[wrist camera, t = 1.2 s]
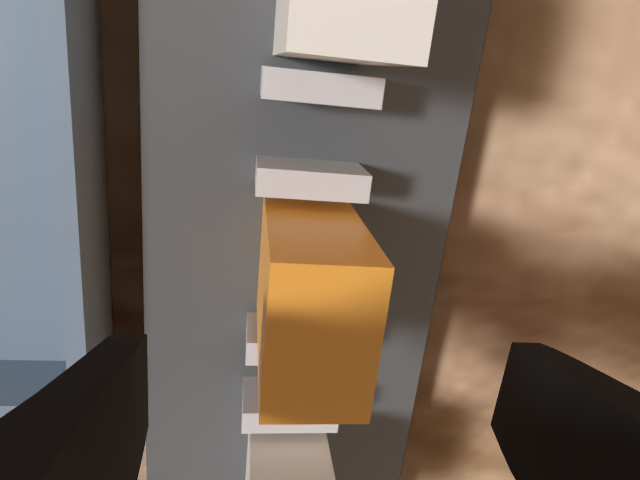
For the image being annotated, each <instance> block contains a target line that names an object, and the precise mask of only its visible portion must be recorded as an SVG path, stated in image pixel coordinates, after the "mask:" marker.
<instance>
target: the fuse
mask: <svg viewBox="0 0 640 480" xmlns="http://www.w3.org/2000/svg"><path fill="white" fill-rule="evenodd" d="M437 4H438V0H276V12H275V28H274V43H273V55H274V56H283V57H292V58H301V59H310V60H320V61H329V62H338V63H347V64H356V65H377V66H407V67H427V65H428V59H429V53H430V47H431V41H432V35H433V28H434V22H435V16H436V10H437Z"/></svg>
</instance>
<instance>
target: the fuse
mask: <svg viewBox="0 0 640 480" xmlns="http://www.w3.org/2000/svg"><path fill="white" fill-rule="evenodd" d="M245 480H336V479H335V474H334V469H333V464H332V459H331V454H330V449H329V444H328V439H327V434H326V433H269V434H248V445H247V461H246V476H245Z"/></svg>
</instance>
